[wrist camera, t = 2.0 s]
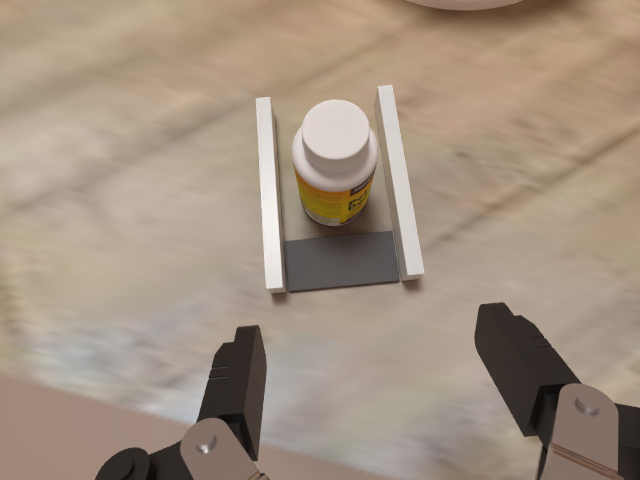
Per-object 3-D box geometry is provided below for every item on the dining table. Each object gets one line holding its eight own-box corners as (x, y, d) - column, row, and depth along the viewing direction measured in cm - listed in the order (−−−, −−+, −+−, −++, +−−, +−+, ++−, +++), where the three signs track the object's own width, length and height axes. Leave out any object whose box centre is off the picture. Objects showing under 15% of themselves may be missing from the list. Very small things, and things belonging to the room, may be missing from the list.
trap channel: (416, 279, 29) (424, 273, 27) (271, 293, 29) (266, 288, 27) (387, 103, 33) (391, 84, 31) (261, 115, 33) (255, 98, 31)
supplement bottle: (350, 239, 30) (360, 188, 20) (289, 211, 31) (270, 149, 21) (377, 181, 31) (399, 107, 22) (318, 156, 32) (312, 74, 22)
